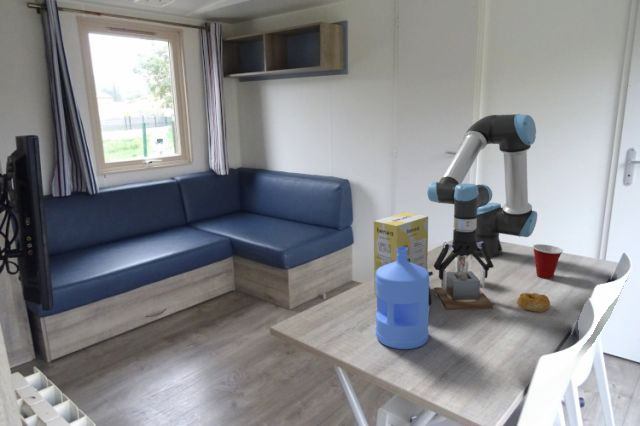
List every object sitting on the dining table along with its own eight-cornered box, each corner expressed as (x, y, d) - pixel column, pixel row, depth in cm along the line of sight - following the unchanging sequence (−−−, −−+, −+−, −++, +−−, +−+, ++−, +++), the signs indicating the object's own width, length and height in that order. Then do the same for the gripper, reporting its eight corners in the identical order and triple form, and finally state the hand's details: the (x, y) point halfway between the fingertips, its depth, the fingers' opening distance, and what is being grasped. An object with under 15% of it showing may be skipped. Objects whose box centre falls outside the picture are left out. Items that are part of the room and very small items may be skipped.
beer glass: (469, 275, 180) (470, 240, 177) (473, 282, 173) (475, 245, 170) (451, 275, 181) (452, 240, 177) (455, 282, 174) (456, 245, 171)
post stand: (434, 291, 166) (434, 265, 164) (476, 289, 166) (478, 263, 164) (445, 310, 151) (446, 281, 148) (493, 308, 151) (494, 280, 148)
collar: (445, 290, 163) (446, 272, 161) (470, 289, 163) (471, 271, 161) (453, 300, 154) (453, 281, 152) (479, 299, 154) (480, 280, 152)
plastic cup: (566, 281, 171) (569, 251, 169) (537, 281, 172) (540, 252, 169) (552, 270, 182) (555, 242, 179) (525, 271, 182) (527, 243, 179)
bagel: (545, 300, 155) (546, 288, 154) (552, 315, 145) (553, 301, 144) (514, 298, 158) (515, 286, 157) (519, 312, 148) (520, 299, 147)
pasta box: (404, 280, 178) (405, 212, 172) (426, 287, 170) (428, 216, 164) (374, 293, 166) (373, 221, 160) (396, 301, 159) (396, 226, 152)
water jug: (392, 320, 145) (392, 237, 139) (437, 334, 135) (439, 246, 129) (365, 340, 133) (364, 251, 127) (412, 356, 124) (414, 261, 117)
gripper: (431, 233, 149) (429, 292, 154) (505, 230, 149) (502, 290, 154) (425, 227, 156) (424, 284, 161) (497, 225, 156) (493, 281, 161)
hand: (462, 287), depth 157 cm, fingers open, 13 cm apart
